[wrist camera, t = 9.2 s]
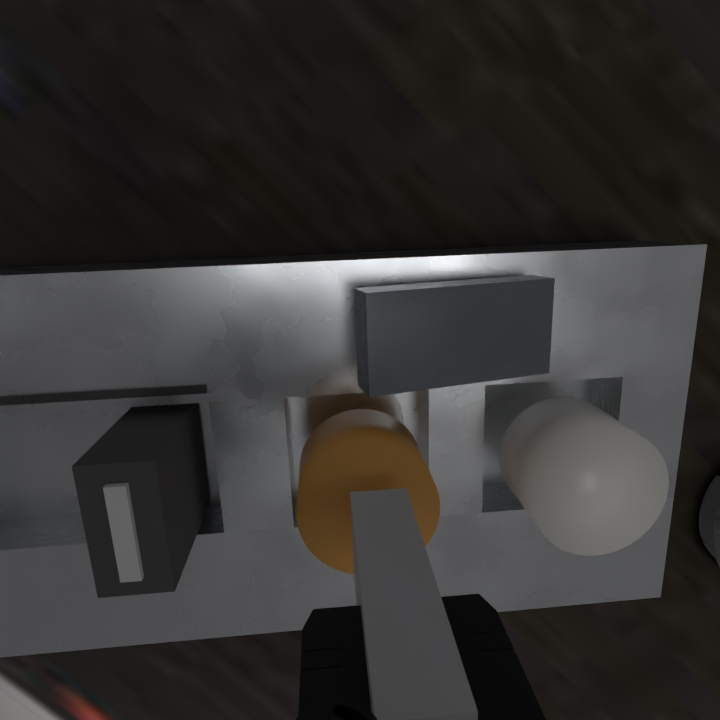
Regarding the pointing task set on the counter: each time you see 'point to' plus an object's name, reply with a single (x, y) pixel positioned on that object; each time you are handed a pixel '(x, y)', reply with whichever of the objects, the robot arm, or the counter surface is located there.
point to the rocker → (452, 332)
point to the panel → (312, 426)
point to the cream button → (583, 475)
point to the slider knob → (143, 499)
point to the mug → (711, 519)
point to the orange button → (358, 480)
